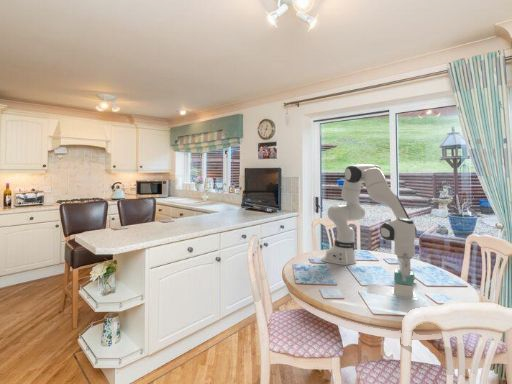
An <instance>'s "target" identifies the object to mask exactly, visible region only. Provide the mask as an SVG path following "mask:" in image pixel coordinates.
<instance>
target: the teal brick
mask: <svg viewBox="0 0 512 384" xmlns="http://www.w3.org/2000/svg"><path fill="white" fill-rule="evenodd" d="M412 271H413V270H412ZM412 271H410V276H407V280H406V282H405V281H402V275H401V271H400V270H399V269H396V268H395V269H394V273H393V277H394V278H393V279H394V280H393V282H394V281H395V283H401V284H408V285H413V286H414V283H415V282H414V281H415V280H414V276H415V273H414V271H413V272H412ZM413 273H414V274H413Z"/></svg>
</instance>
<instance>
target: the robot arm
mask: <svg viewBox="0 0 512 384" xmlns="http://www.w3.org/2000/svg"><path fill="white" fill-rule="evenodd" d="M362 184H365V188H366V191H367V194H368V197H369V198H370V199H371V200H372V201H374V202H376V203H379V204H382V205H384V206H387V207H388V208H390V209H391V211H392V213H393V214H394V216H395V218H396V219H394V220H392V221H388V222H383V223H382V224H381V225H380V230H379V232H380V233H379V234H380V236H381V237H382V239H383V240H385V241H389V242H391V241H392V242H394V253H393V254H394V255H396V258H397V262H398V266H399V269H400V271H401V275H402V281H405V282H406V280H407V276H410V269H411V260H412V258H414V257H415V256H416V253H415V252H416V244H415V239H416V235H417V231H418V230H417V226H416V225H415V222H414V220H412V219H411V218H410V217H409V215H408V213H407V211H406V209H405V207H404V205H403V203H402V201H401V200H400V197H398V195H397V194H396V193H394V191H392V190H391V188H390V186H389V184H388V182H387V179H386V177H385V175H384V173H383V172H382V169H381V166H379V165H378V164H356V165H353V164H352V165H349V166H347V167H346V168H345V170H344V181H343V185H342V189H341V193H340V194H341V198H342V200H343V201H345V202H346V204H336V205H332V206H330V207H329V208H328V210H327V217H328V219H329V220H330V221H331V222H332V223H333V224H334V225H335V227H336V234H337V235H336V236H337V239H336V238H335V239H334V240H333V241H334V242H333V244H334V245H332V246H331V247H329V248H328V249H327V250H326V252H325V255H324V256H323V257H322V258H321V260H322V261H323V262H324V263H329V264H334V265H335V264H336V265H340V266H348V265H354V264H357V258H356V252H355V251H356V241H355V229H354V228H353V227H351V226H350V225H348V222H351V221H352V222H353V221H355V222H356V221H360V220H363V219H364V217H365V216H366V210H365V208H364V206H363V205H361V203H360V194H361V189H362Z"/></svg>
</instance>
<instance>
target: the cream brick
mask: <svg viewBox="0 0 512 384" xmlns="http://www.w3.org/2000/svg"><path fill="white" fill-rule="evenodd" d="M393 287H394V293H395V294H400V295H407V296H413V290H414V284H413V285H408V284H401V283H395V281H394V280H393Z"/></svg>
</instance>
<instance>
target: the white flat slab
mask: <svg viewBox="0 0 512 384" xmlns="http://www.w3.org/2000/svg"><path fill="white" fill-rule="evenodd" d="M366 288H367V289H366V291H367V292H366V293H367V294H373V295H378V296H379V295H380V296H384V297H385V296H386V297H391V298H398V299H403V300H405V299H406V300H411V301H418V297H417V295H416V291H415V289H413V296H407V295H400V294H395V293H394V286H392V285H391V286H390V285H384V284H379V283H378V284H377V283H372V282H371V283H370V282H368V283H367V287H366Z"/></svg>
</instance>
